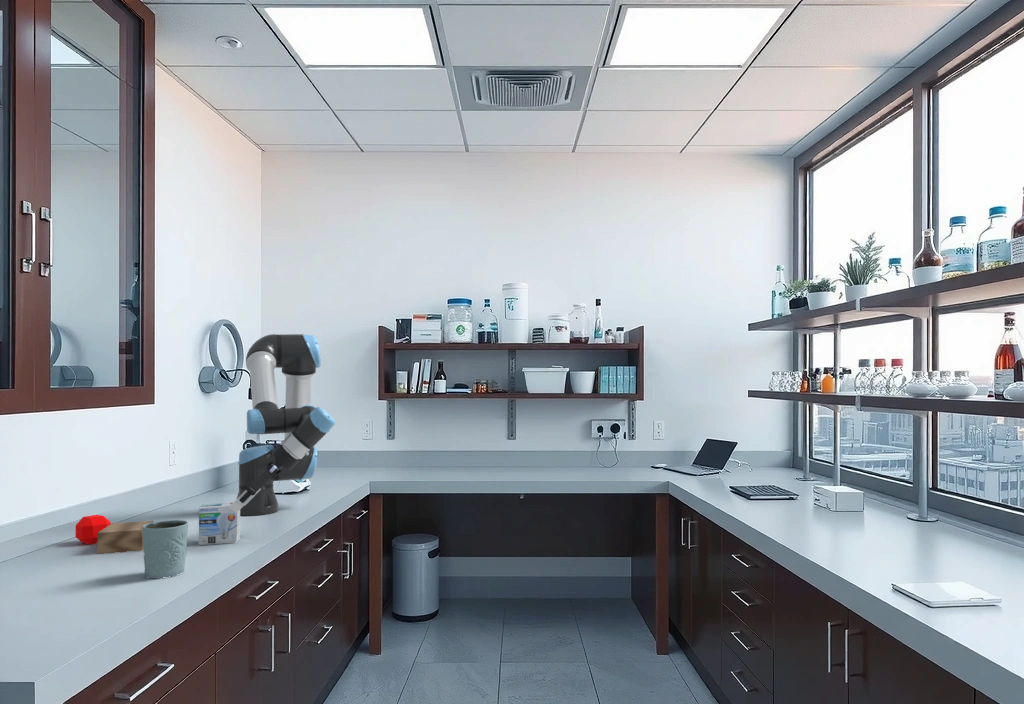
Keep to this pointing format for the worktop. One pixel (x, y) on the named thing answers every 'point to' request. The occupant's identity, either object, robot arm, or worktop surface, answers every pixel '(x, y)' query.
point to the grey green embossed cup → (164, 548)
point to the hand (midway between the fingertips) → (237, 506)
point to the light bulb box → (218, 524)
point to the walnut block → (121, 537)
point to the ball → (90, 528)
